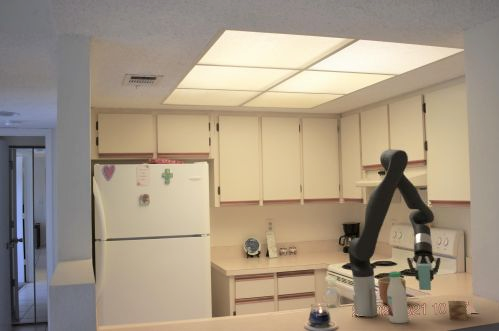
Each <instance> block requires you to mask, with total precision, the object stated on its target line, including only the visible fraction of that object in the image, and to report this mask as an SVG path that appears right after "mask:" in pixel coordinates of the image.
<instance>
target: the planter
mask: <svg viewBox="0 0 499 331" xmlns="http://www.w3.org/2000/svg"><path fill="white" fill-rule="evenodd" d="M400 279H401V282H402V285H403V286H404V288H405V291H406V292H407V290H406V289H407V288H406V287H407V286H406V284H407V282H406V279H405V278H403V277H401V278H400ZM389 283H390V278H389V276H387V277H380V278H379V279H377V285H378V291H379V292H378V293H379V294H378V295H379V298H380V300H381V302H383V303H384V304H386V305H388V301H387V289H388V286H389Z"/></svg>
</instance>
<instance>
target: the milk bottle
mask: <svg viewBox="0 0 499 331" xmlns="http://www.w3.org/2000/svg"><path fill="white" fill-rule="evenodd" d="M401 276H402V275H401V272H400V271H390V272H389V273H388V277H389V278H390V283H389V286H388V289H387V301H388V304H387V311H388V320H389V322H390V323H392V324H405V323H408V322H409V312H408V310H409V309H408V300H407V290H406V291H405V288H404V286H403V285H402V282H401V279H400V278H402V277H401Z"/></svg>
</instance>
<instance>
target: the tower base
mask: <svg viewBox="0 0 499 331" xmlns="http://www.w3.org/2000/svg"><path fill="white" fill-rule="evenodd" d="M466 306H467V303H466V300H448V313H449V320H455V321H457V320H458V321H468V314H467V308H466Z"/></svg>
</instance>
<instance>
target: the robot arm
mask: <svg viewBox="0 0 499 331" xmlns="http://www.w3.org/2000/svg"><path fill="white" fill-rule="evenodd" d="M379 159H380V160H379V162H380V164H381V166H382V167H383V169H384V170H385V172H386V174H385V175H384V177H383V179H382V180H381V181H380V182H379V184H378V185H377V186H376V187H375V188H374V189H373V190H372V192H371V194H370V196H369V197H368V201H367V204H366V206H365V207H366V208H365V212H364V224H363V228H362V231H361V234H360V236H359V237H355V238H353V239H352V240H351V241H350V242H349V244H348V258H349V266H350V270H351V273H352V285H353V294H352V297H353V308H354V315H355V314H358V315H362V316H373V317H375V315H376V316H377V315H378V306H377V305H378V304H377V292H376V283H375V281H376V280H375V272H374V271H375V270H374V267H373V266H372V264H371V258H372V257H373V256H374V254H375V251H376V247H377V243H378V240H379V239H378V238H379V234H380V232H381V230H382V226H383V225H384V222H385V220H386V216H387V213H388V211H389V209H390V205H391V203H392V200H393V197H394V195H395V192H396V190H398V191H399V193H400V194H401V196H402V198H403V200H404V202H405V205H406V207H407V208H408V209H409V210H413V211H412V212H410V214H409V217H408V218H409V221H410V224H411V225H412V226H411V227H412V228H413V252H414V253H413V256H412V257H407V258H406V261H407V265H408V267H409V270H410V273H414V277H415V280H417V282H419V274H418V264H429V266H430V281H431V282H432V281H433V280H434V274H435V273H436V274H437V273H438V272H439V269H440V266H441V257H434V253H433V242H432V237H431V228H430V226H429V225H428V224H431V223H433V222H434V220H435V216H434V213H433V211H432V210H431V208H430V207H429V206H428V205H427V204H426V203H425V202H424V200H422V197H421V195H420V194H419V191H418V190H417V187H415V186H414V183H412V182H411V181H410V180H409V179H408V177H407V176H406V175H405V174H404V172H405V170H406V168H407V165H408V162H409V157H408V153H406V151H405V150H402V149H385V150H383V152H381V155H380V157H379ZM414 262H415V264H416V265H415V267H414V266H413V264H414ZM433 263H435V265H434V267H433V266H432V264H433Z"/></svg>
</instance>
